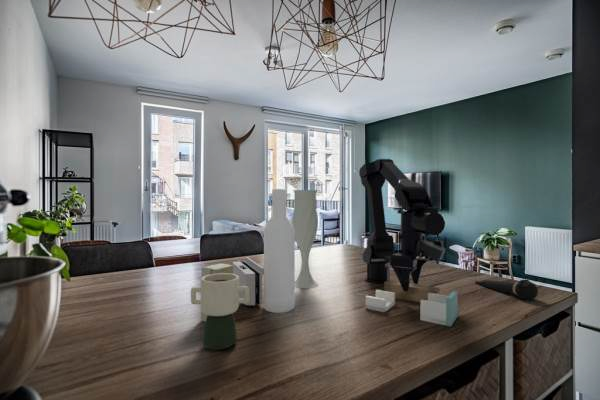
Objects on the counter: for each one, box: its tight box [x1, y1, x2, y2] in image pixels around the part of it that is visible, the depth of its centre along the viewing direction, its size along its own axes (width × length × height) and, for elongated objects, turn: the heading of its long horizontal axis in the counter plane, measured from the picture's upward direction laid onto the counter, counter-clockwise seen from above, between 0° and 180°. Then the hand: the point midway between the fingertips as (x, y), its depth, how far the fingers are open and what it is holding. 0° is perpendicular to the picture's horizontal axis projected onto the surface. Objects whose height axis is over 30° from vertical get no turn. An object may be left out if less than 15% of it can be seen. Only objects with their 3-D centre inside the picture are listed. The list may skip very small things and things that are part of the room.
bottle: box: [262, 188, 296, 314], centre depth 85 cm, size 8×8×30 cm
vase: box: [292, 189, 319, 289], centre depth 107 cm, size 9×8×30 cm
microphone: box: [474, 279, 539, 301], centre depth 100 cm, size 6×6×20 cm
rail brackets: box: [364, 289, 459, 327], centre depth 82 cm, size 20×8×6 cm, turn 55°
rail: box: [383, 279, 441, 303], centre depth 93 cm, size 14×4×4 cm, turn 56°
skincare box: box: [200, 262, 234, 323], centre depth 78 cm, size 6×4×12 cm
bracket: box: [231, 256, 264, 306], centre depth 92 cm, size 17×5×10 cm, turn 23°
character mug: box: [190, 273, 249, 351], centre depth 64 cm, size 11×7×13 cm, turn 94°
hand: (411, 287), depth 93 cm, fingers open, 9 cm apart
